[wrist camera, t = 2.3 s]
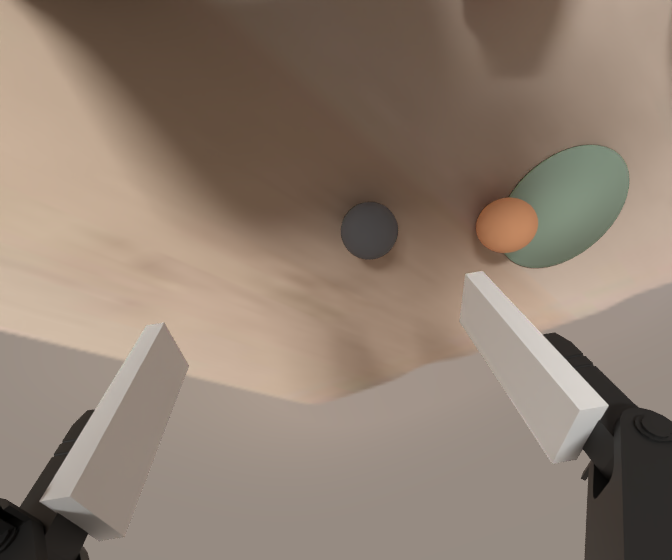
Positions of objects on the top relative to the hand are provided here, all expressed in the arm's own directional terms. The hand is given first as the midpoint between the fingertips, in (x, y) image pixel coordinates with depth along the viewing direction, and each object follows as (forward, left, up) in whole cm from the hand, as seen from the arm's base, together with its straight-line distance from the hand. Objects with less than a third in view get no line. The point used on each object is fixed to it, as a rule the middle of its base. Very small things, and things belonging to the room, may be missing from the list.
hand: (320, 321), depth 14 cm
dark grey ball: (+6, -4, -17) cm, 18 cm away
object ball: (+20, -4, -17) cm, 26 cm away
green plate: (+28, -4, -20) cm, 34 cm away
